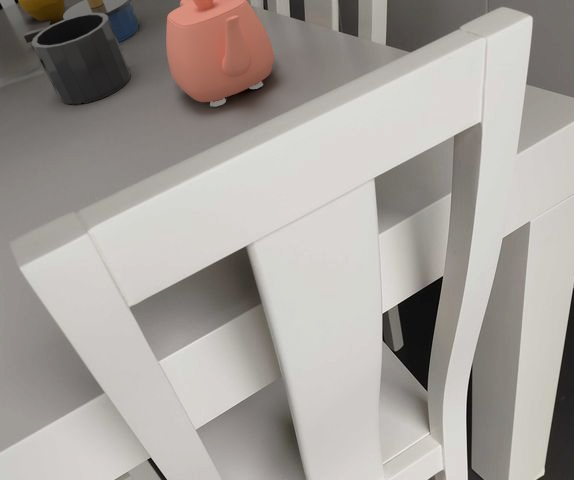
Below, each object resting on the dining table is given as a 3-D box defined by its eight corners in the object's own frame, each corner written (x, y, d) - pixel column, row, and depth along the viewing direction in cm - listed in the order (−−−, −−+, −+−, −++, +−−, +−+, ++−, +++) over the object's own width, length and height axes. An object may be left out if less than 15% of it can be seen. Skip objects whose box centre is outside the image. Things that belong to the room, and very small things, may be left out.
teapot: (214, 134, 74) (182, 33, 65) (164, 86, 87) (131, -4, 78) (307, 93, 76) (287, -11, 67) (244, 52, 89) (221, -39, 80)
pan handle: (27, 43, 105) (23, 36, 104) (27, 40, 106) (24, 33, 106) (69, 29, 105) (66, 22, 104) (70, 27, 106) (67, 19, 105)
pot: (57, 112, 89) (28, 55, 83) (62, 82, 97) (35, 28, 91) (131, 90, 89) (107, 30, 82) (130, 61, 97) (108, 5, 90)
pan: (77, 56, 104) (64, 29, 101) (79, 34, 112) (68, 8, 109) (140, 36, 104) (129, 9, 100) (138, 16, 112) (128, -10, 108)
